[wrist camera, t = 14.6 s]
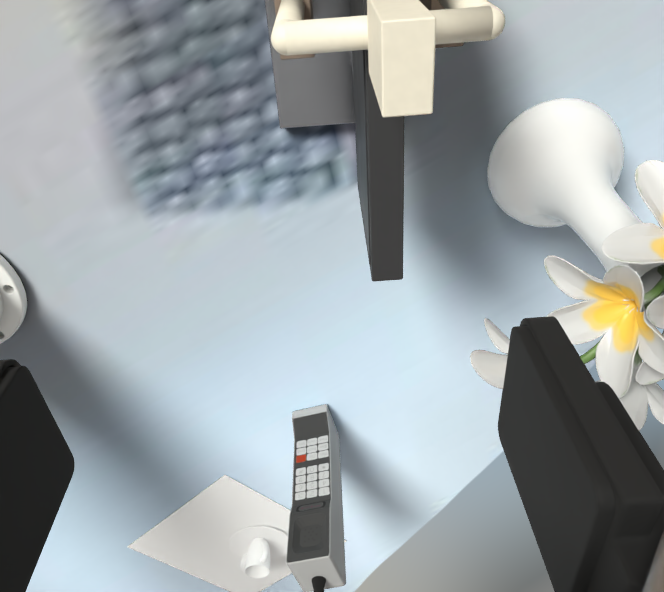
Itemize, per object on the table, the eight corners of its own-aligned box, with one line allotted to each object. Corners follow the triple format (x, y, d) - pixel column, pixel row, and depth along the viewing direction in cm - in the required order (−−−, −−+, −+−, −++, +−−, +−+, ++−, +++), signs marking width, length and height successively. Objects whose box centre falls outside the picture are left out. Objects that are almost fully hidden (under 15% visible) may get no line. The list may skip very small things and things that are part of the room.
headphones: (285, 36, 35) (260, 160, 18) (275, -60, 32) (235, -12, 16) (442, 24, 34) (555, 139, 18) (446, -74, 31) (585, -39, 15)
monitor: (285, 162, 43) (272, 288, 29) (255, -92, 34) (214, -81, 20) (376, 155, 43) (406, 279, 29) (371, -101, 34) (412, -97, 20)
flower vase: (392, 196, 45) (456, 447, 25) (581, -8, 37) (908, 116, 17) (501, 279, 50) (628, 545, 30) (689, 116, 42) (1043, 326, 22)
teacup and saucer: (259, 567, 76) (257, 597, 73) (212, 544, 73) (207, 575, 69) (304, 539, 73) (303, 570, 69) (256, 515, 69) (254, 546, 66)
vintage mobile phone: (326, 401, 58) (333, 674, 38) (339, 433, 61) (351, 702, 41) (292, 409, 59) (280, 681, 38) (306, 439, 62) (302, 709, 41)
